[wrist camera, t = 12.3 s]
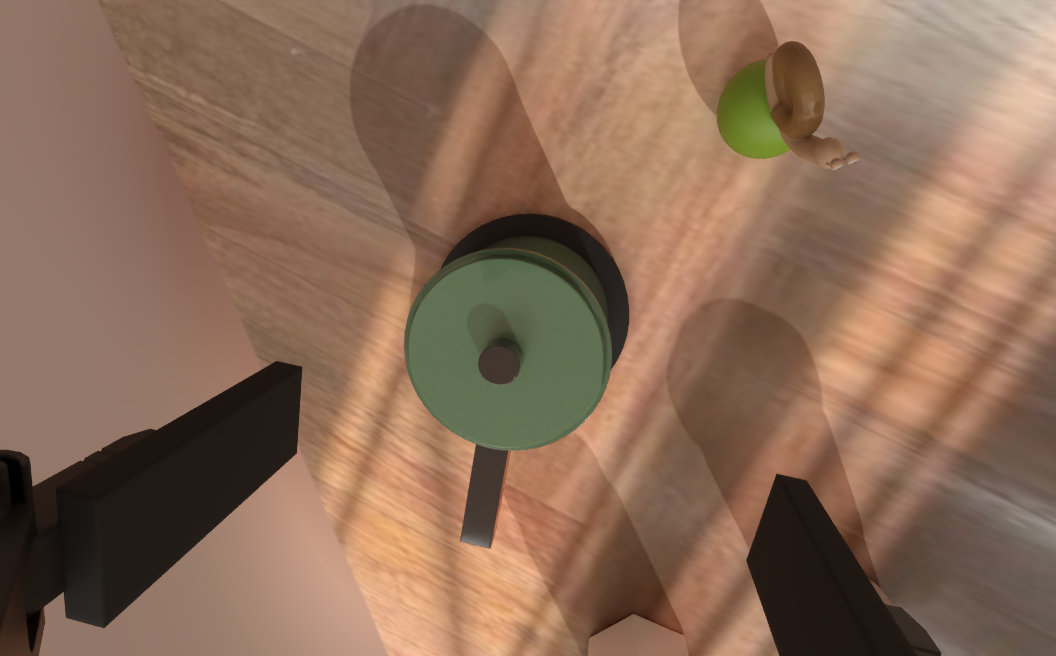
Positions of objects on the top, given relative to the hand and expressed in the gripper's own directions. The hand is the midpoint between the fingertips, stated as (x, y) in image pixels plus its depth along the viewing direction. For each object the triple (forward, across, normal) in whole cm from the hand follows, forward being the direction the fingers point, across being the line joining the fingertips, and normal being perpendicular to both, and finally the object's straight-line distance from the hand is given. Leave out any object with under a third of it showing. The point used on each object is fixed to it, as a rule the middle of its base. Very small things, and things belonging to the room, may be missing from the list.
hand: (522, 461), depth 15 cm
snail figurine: (+26, +9, +12) cm, 30 cm away
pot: (+24, -3, -7) cm, 25 cm away
